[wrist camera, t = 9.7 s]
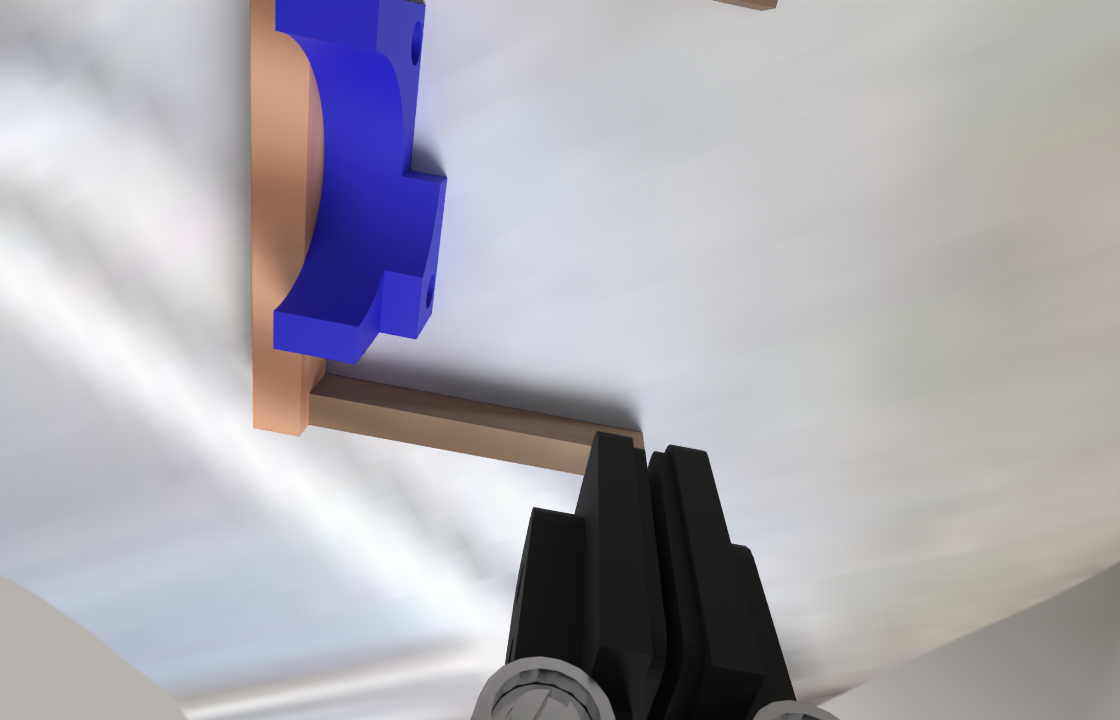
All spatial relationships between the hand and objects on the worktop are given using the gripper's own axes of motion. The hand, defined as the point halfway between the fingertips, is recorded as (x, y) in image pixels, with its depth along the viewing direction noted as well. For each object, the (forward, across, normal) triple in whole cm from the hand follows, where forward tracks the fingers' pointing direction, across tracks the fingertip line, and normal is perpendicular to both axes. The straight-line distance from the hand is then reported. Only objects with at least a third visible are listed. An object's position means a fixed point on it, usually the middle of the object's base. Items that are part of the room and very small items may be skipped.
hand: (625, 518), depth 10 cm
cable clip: (+20, +9, 0) cm, 22 cm away
